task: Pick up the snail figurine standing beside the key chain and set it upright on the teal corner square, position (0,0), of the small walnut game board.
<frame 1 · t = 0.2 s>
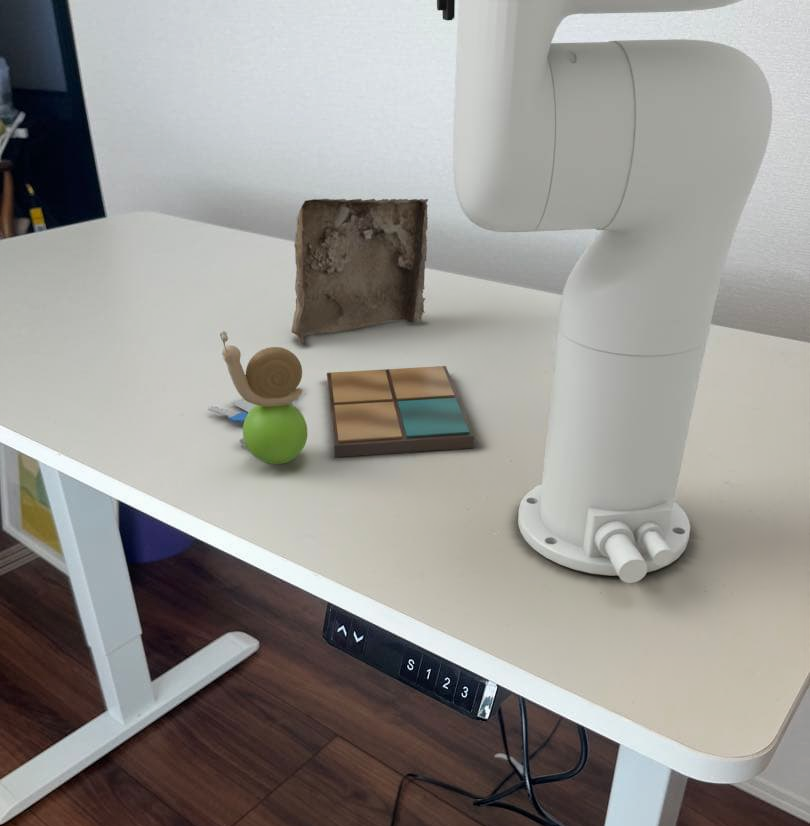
hand: (496, 18, 81), 31 cm above the table, tool pointing down, fingers open, 9 cm apart
snail figurine: (271, 461, 71), on the table, touching key chain
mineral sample: (360, 331, 98), on the table
key chain: (250, 421, 78), on the table, touching snail figurine
game board: (395, 413, 79), on the table
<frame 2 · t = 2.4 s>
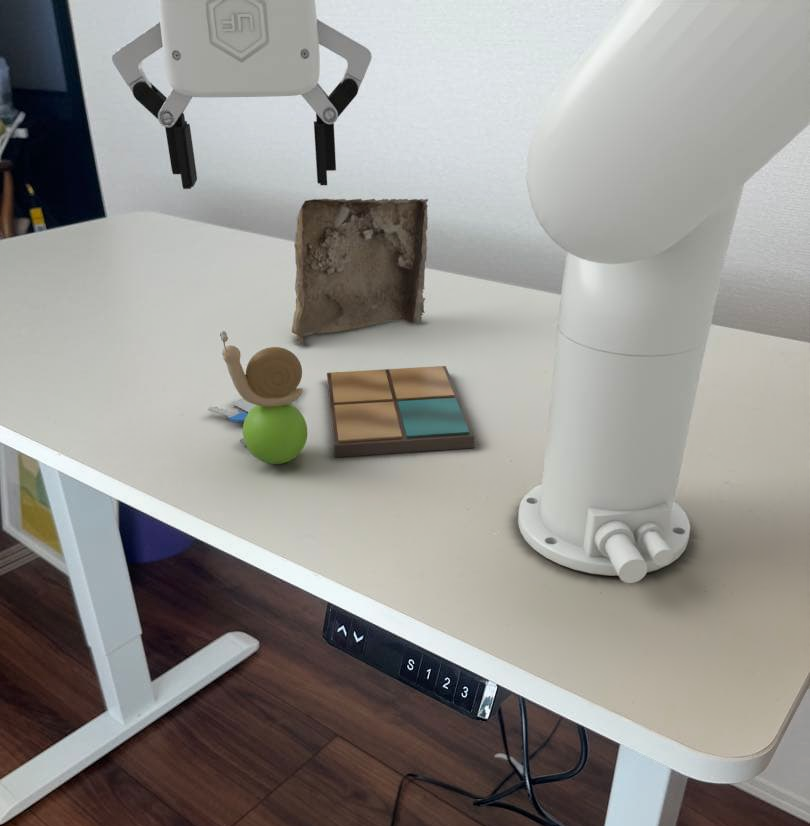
hand: (256, 183, 60), 22 cm above the table, tool pointing down, fingers open, 9 cm apart
nothing on the table moved.
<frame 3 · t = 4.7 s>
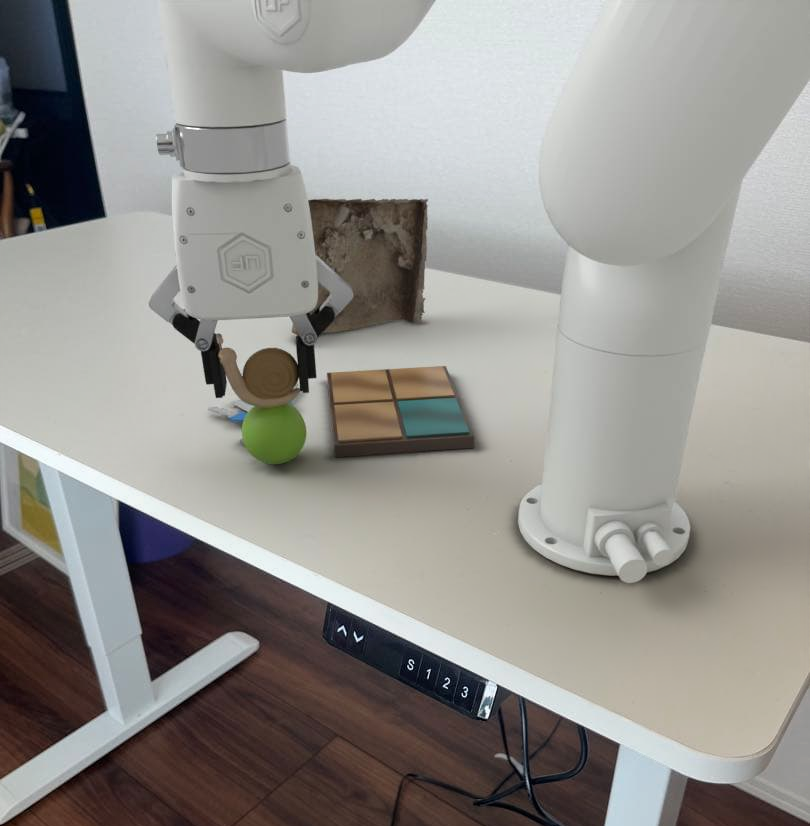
hand: (263, 386, 67), 7 cm above the table, tool pointing down, fingers closed on snail figurine, 6 cm apart
snail figurine: (271, 461, 71), on the table, touching gripper, key chain
everything else where it was.
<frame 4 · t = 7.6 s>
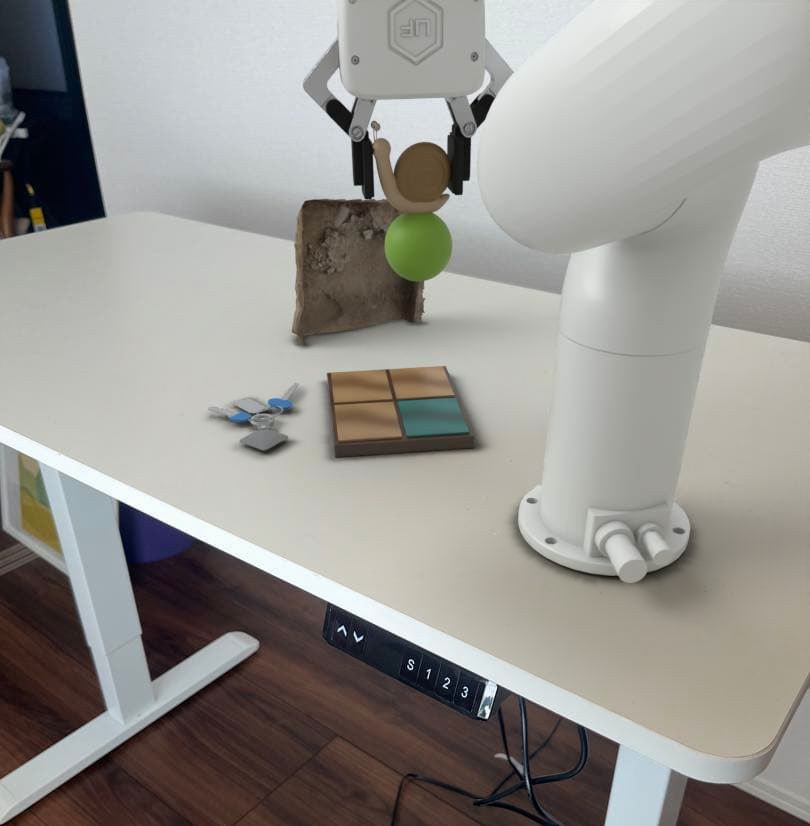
hand: (411, 191, 63), 21 cm above the table, tool pointing down, fingers closed on snail figurine, 6 cm apart
snail figurine: (412, 282, 67), point 14 cm above the table, touching gripper
key chain: (250, 421, 78), on the table
everything else where it was.
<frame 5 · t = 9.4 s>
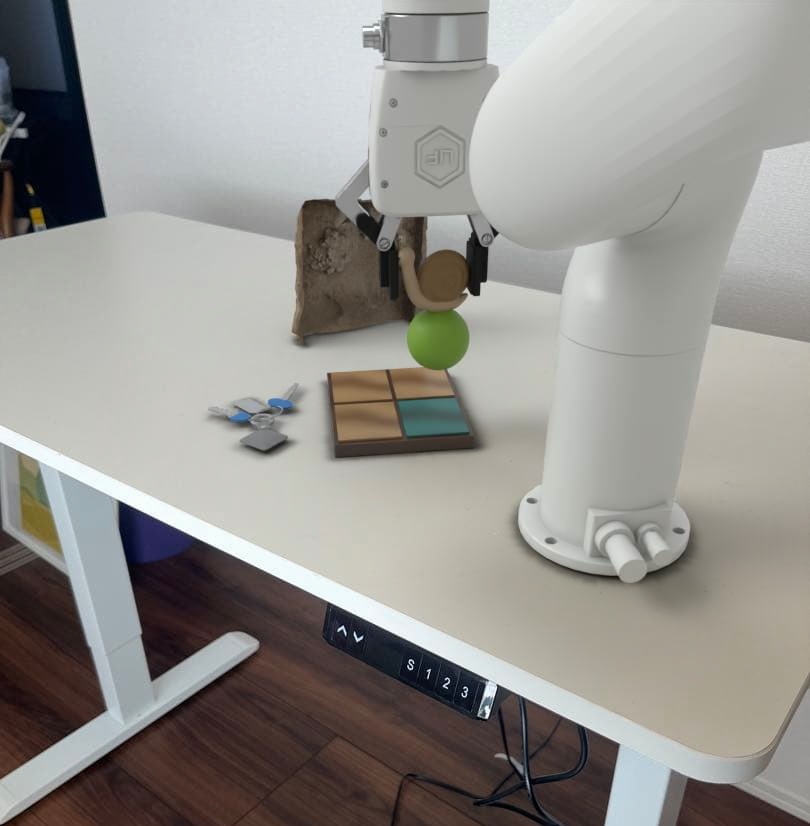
hand: (432, 291, 69), 13 cm above the table, tool pointing down, fingers closed on snail figurine, 6 cm apart
snail figurine: (431, 369, 73), point 6 cm above the table, touching gripper
everything else where it was.
when the fingers open (8 cm above the table, at t = 11.0 s): snail figurine stays where it is, resting on game board.
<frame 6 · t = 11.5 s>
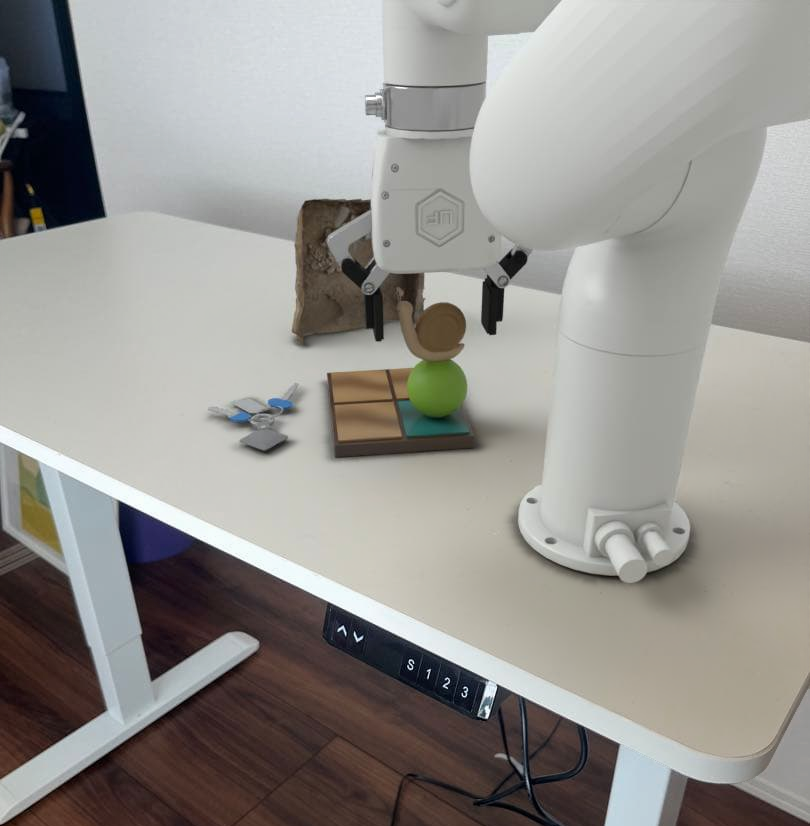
hand: (433, 332, 70), 9 cm above the table, tool pointing down, fingers open, 9 cm apart
snail figurine: (431, 417, 75), point 1 cm above the table, touching game board
everything else where it was.
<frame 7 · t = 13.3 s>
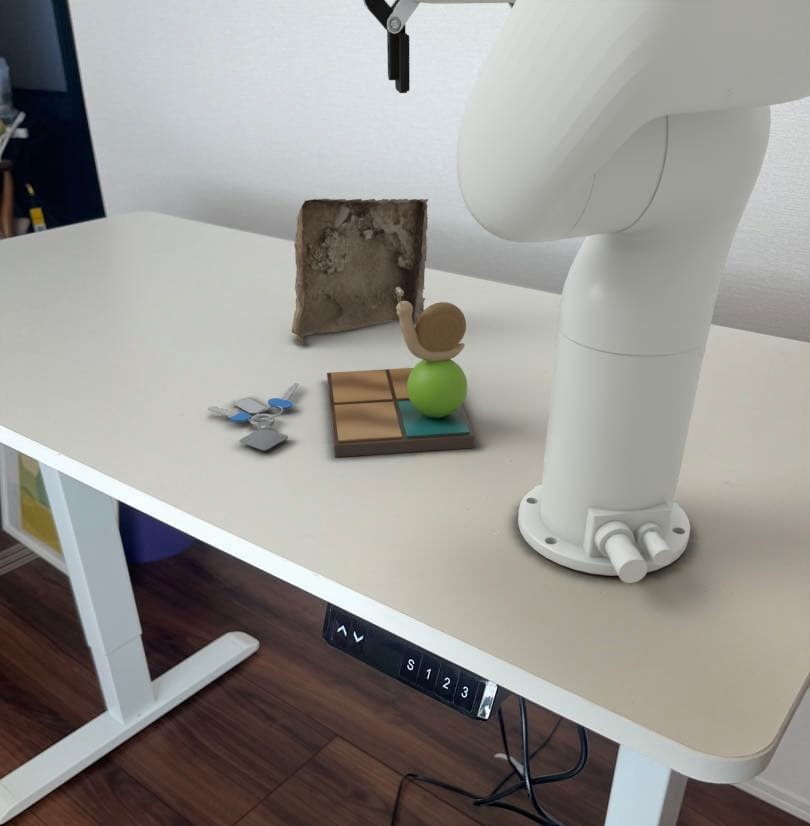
hand: (461, 89, 66), 27 cm above the table, tool pointing down, fingers open, 9 cm apart
nothing on the table moved.
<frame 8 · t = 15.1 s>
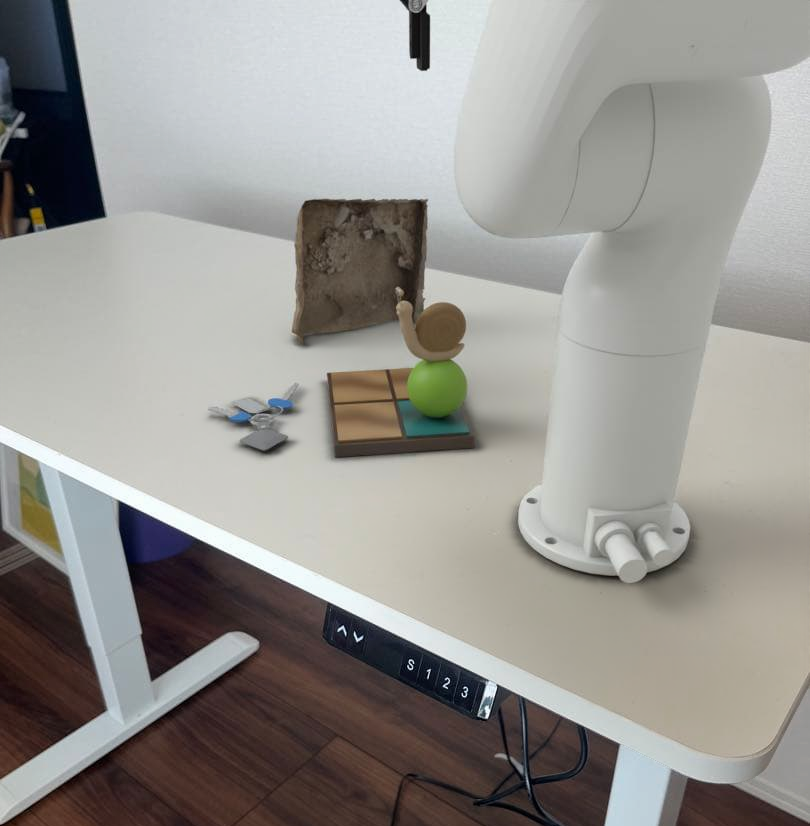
hand: (479, 67, 68), 28 cm above the table, tool pointing down, fingers open, 9 cm apart
nothing on the table moved.
at the end: snail figurine 0.1 cm from the target spot, point 1.2 cm above the table; snail figurine tilted 0° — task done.
